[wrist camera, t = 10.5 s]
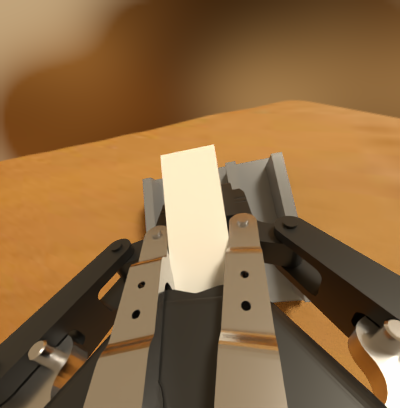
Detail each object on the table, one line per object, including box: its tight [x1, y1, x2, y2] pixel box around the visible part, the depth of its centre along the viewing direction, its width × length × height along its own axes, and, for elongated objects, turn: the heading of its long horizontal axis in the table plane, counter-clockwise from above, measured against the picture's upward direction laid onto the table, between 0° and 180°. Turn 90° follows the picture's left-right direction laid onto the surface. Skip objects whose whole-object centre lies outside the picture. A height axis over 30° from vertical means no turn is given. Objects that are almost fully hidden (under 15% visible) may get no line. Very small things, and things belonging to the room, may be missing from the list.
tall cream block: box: [161, 145, 229, 293], centre depth 12 cm, size 7×3×9 cm, turn 7°
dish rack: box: [143, 152, 311, 302], centre depth 23 cm, size 18×18×5 cm
